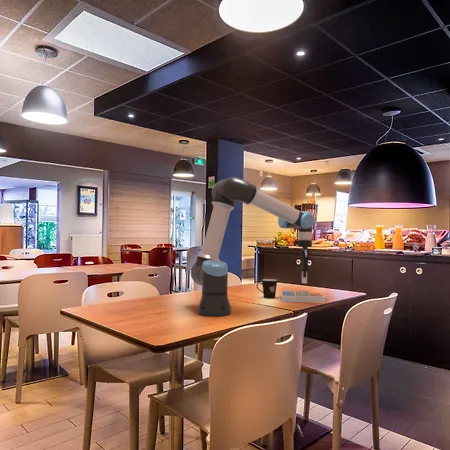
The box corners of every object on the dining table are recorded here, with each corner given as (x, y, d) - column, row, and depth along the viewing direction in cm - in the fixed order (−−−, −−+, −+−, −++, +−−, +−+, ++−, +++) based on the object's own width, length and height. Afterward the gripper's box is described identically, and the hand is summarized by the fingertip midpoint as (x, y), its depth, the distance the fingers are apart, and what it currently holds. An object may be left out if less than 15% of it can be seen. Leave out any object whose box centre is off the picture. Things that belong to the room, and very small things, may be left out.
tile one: (283, 297, 209) (283, 291, 209) (282, 295, 215) (282, 290, 215) (294, 298, 209) (294, 292, 209) (293, 296, 215) (293, 290, 215)
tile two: (297, 298, 209) (297, 292, 209) (296, 296, 215) (296, 290, 215) (308, 298, 208) (308, 292, 208) (307, 296, 214) (307, 290, 214)
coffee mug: (276, 296, 224) (277, 279, 224) (277, 299, 215) (277, 281, 215) (256, 296, 225) (256, 278, 225) (256, 298, 216) (256, 280, 216)
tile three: (311, 300, 208) (311, 294, 208) (309, 298, 214) (309, 292, 214) (322, 300, 208) (322, 294, 208) (320, 298, 214) (321, 293, 214)
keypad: (281, 301, 207) (281, 296, 207) (280, 298, 217) (280, 293, 217) (325, 302, 206) (325, 297, 206) (322, 299, 216) (322, 294, 216)
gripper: (313, 240, 205) (312, 285, 204) (310, 239, 218) (309, 282, 217) (299, 239, 206) (298, 284, 205) (296, 239, 219) (296, 281, 218)
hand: (304, 283), depth 211 cm, fingers closed
